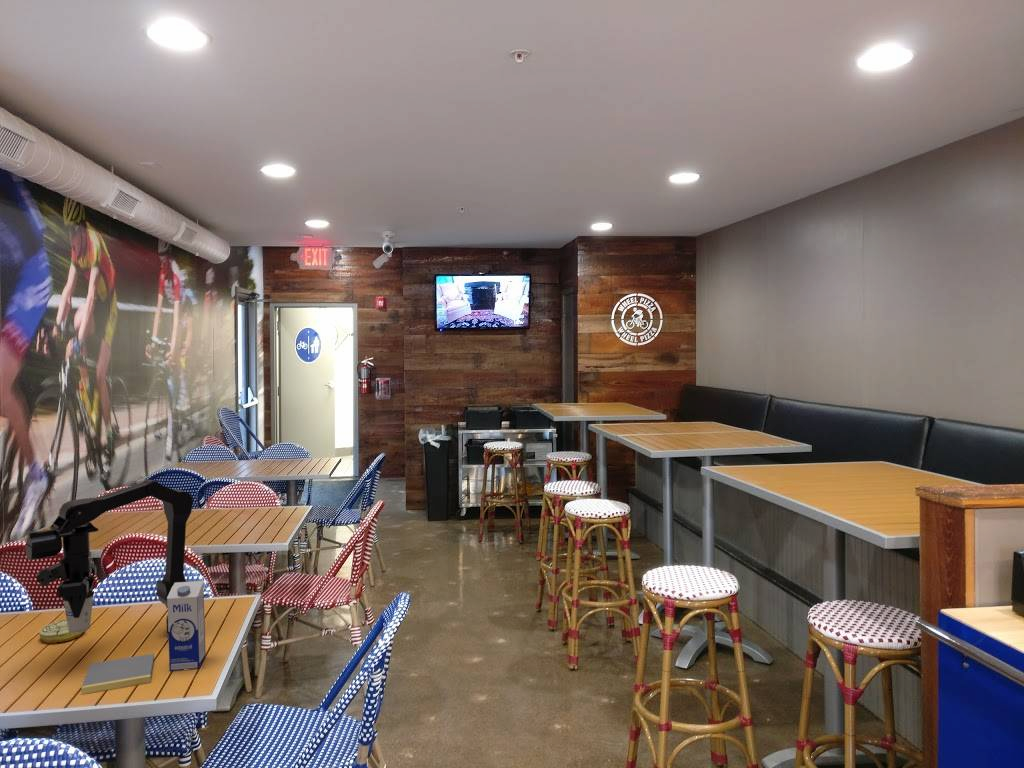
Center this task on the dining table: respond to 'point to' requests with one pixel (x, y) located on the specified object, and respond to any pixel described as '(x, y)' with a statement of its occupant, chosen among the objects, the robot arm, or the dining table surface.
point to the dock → (118, 673)
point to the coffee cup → (85, 617)
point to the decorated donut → (57, 632)
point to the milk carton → (186, 625)
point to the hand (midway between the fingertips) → (79, 612)
